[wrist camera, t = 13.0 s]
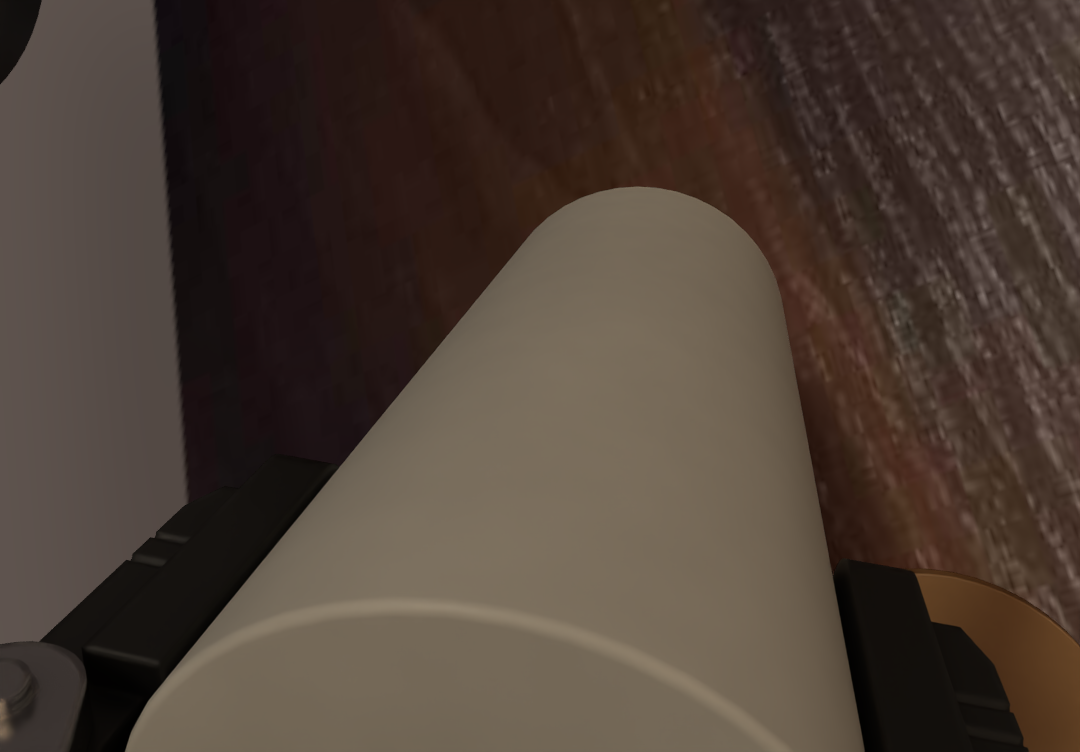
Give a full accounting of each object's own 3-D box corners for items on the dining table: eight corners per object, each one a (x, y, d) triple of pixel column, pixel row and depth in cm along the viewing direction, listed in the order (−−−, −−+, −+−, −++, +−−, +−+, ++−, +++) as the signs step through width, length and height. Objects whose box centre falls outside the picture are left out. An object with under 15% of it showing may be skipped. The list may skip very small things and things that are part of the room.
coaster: (713, 826, 25) (710, 837, 24) (798, 523, 24) (797, 527, 23) (1065, 975, 22) (1070, 991, 22) (1174, 637, 21) (1184, 645, 21)
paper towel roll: (143, 1067, 8) (56, 529, 6) (491, 427, 20) (511, 167, 17) (797, 1259, 7) (1027, 728, 5) (752, 472, 19) (811, 206, 17)
